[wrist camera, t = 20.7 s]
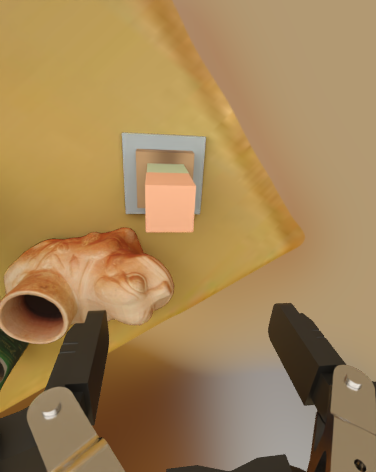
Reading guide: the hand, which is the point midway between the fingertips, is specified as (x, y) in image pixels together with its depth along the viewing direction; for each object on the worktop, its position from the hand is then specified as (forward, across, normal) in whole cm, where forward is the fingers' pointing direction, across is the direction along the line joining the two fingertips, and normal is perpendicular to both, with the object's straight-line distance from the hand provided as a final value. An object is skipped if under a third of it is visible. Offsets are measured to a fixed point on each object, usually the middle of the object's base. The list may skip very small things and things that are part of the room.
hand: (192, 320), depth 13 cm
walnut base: (+31, 0, 0) cm, 31 cm away
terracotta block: (+22, 0, 0) cm, 22 cm away
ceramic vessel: (+32, +12, +16) cm, 38 cm away
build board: (+32, 0, 0) cm, 32 cm away
